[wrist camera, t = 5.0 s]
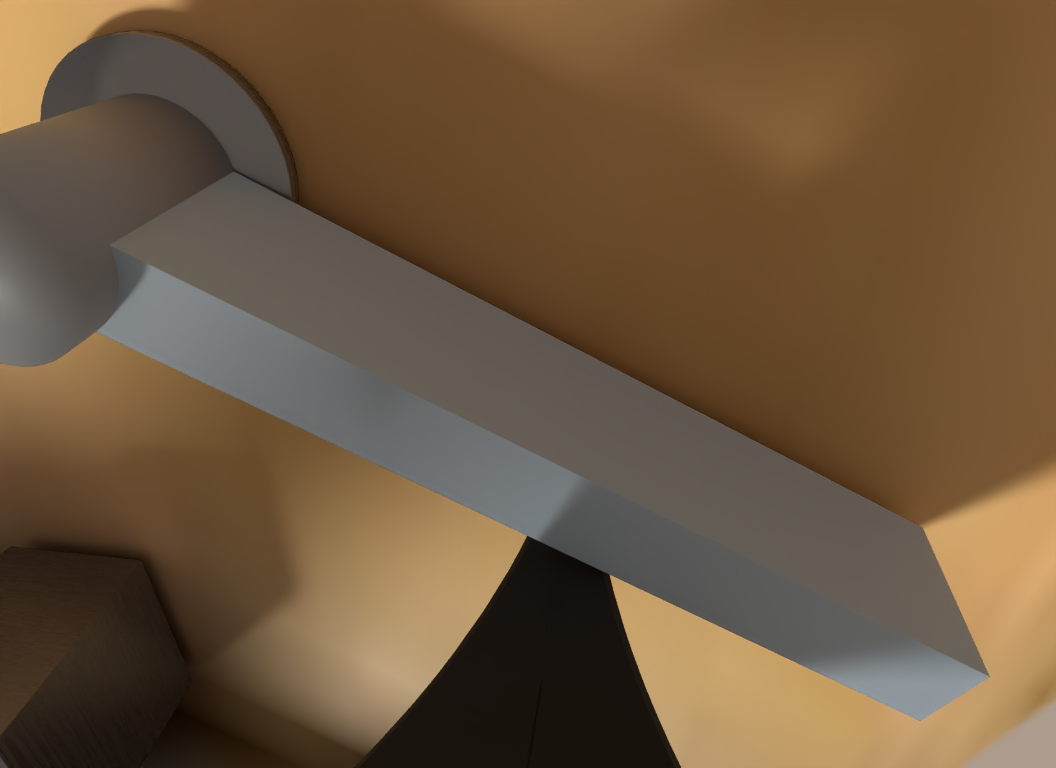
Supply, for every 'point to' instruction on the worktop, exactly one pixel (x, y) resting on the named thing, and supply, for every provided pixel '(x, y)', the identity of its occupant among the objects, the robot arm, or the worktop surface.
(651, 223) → the worktop surface
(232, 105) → the base
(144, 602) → the hook rod
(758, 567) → the grey lever bar
